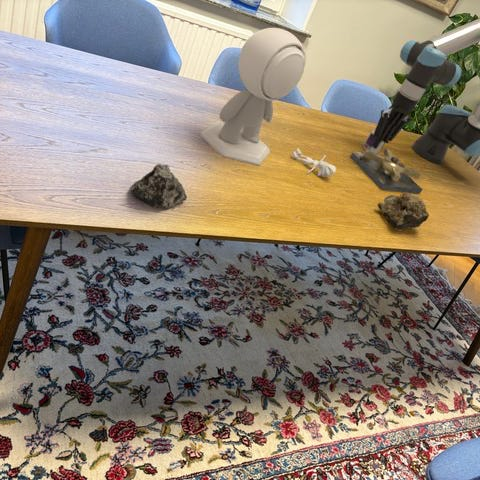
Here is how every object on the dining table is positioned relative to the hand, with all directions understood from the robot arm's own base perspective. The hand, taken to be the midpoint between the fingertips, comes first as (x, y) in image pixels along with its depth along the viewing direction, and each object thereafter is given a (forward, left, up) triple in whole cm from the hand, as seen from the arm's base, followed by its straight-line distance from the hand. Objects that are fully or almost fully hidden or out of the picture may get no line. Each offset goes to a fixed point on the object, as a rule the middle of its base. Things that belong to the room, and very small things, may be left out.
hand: (371, 155), depth 163 cm
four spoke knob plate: (-5, +6, -1) cm, 8 cm away
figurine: (+31, +8, -4) cm, 32 cm away
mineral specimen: (+13, +32, -4) cm, 35 cm away
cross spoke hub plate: (-5, +6, -4) cm, 9 cm away
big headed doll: (+55, -1, -4) cm, 55 cm away
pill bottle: (-12, -13, -4) cm, 18 cm away
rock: (+88, +29, -4) cm, 93 cm away
